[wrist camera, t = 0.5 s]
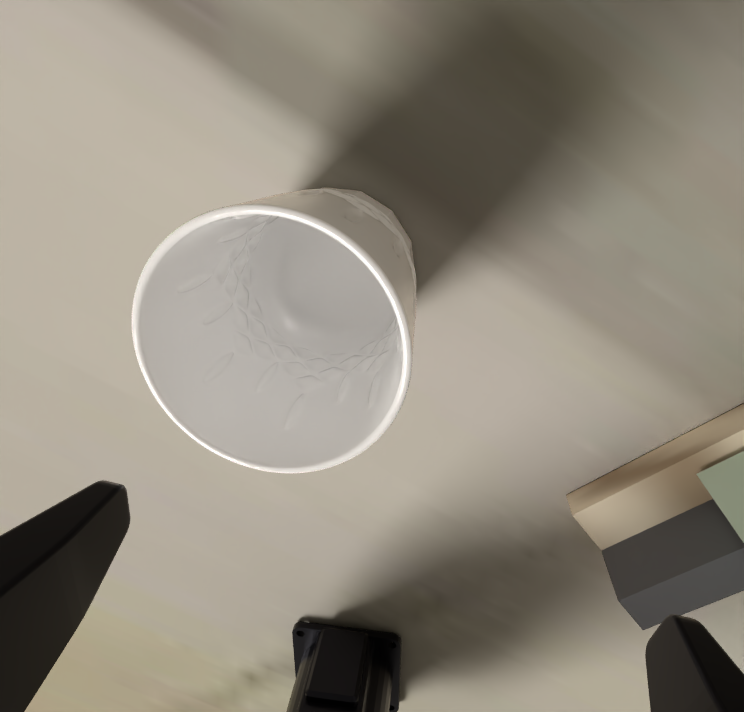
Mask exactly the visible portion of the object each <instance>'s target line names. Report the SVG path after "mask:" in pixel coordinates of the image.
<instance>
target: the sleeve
mask: <svg viewBox="0 0 744 712" xmlns="http://www.w3.org/2000/svg"><path fill="white" fill-rule="evenodd" d="M697 476H698V477H699V479H700V480H701V482H702V483H703V485H704V486H705V488H706V489H707V490H708V492H709V493H710V495H711V496H712V498H713V499H714V501H715V502H716V504H717V505H718V506H719V508H720V509H721V511H722V512H723V514H724V515H725V517H726V518H727V519H728V521H729V522H730V524H731V525H732V527H733V528H734V530H735V531H736V533H737V534H738V535H739V537H740V538H741V540H742V541H743V543H744V451H743V452H740V453H738V454H736V455H734V456H732V457H730V458H728V459H726V460H724V461H722V462H720V463H718V464H716V465H714V466H712V467H710V468H708V469H705V470H703V471H701V472H699V473H697Z"/></svg>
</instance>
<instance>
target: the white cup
mask: <svg viewBox="0 0 744 712" xmlns="http://www.w3.org/2000/svg"><path fill="white" fill-rule="evenodd" d="M415 319H416V272H415V267H414V258H413V250H412V242H411V240H410V238H409V237H408V235H407V233H406V232H405V230H404V229H403V227H402V226H401V224H400V222H399V221H398V219H397V218H396V216H395V214H394V213H393V211H392V210H390V209H389V208H387V207H386V206H384V205H382V204H381V203H379V202H378V201H376V200H375V199H373V198H371V197H370V196H368V195H367V194H365V193H363V192H362V191H357V190H348V189H338V188H328V187H323V188H320V189H308V190H300V191H295V192H288V193H282V194H277V195H273V196H269V197H265V198H261V199H256V200H252V201H248V202H244V203H240V204H236V205H231V206H227V207H222V208H218V209H215V210H212V211H209V212H206V213H204V214H201V215H199V216H197V217H195V218H193V219H191V220H189V221H187V222H186V223H184V224H183V225H181V226H180V227H178V228H177V229H176V230H174V231H173V232H172V233H171V234H170V235H168V236H167V237H166V238H165V239H164V240H163V241H162V242H161V244H160V245H159V246H158V247H157V248H156V250H155V251H154V252H153V254H152V255H151V257H150V258H149V260H148V261H147V263H146V265H145V267H144V269H143V271H142V273H141V275H140V278H139V281H138V283H137V287H136V290H135V295H134V300H133V306H132V336H133V343H134V348H135V353H136V356H137V360H138V363H139V366H140V369H141V371H142V374H143V376H144V378H145V381H146V383H147V385H148V386H149V388H150V390H151V392H152V394H153V395H154V397H155V398H156V400H157V401H158V403H159V404H160V406H161V407H162V408H163V410H164V411H165V412H166V413H167V415H168V416H169V417H170V418H171V419H172V420H173V421H174V422H175V423H176V424H177V425H178V426H179V427H180V428H181V429H182V430H183V431H184V432H185V433H186V434H187V435H189V436H190V437H191V438H192V439H194V440H195V441H196V442H198V443H199V444H200V445H202V446H203V447H205V448H207V449H208V450H210V451H212V452H213V453H215V454H217V455H219V456H221V457H223V458H225V459H227V460H229V461H232V462H234V463H237V464H240V465H243V466H246V467H249V468H253V469H257V470H262V471H268V472H275V473H306V472H313V471H318V470H323V469H327V468H330V467H333V466H336V465H339V464H341V463H344V462H346V461H348V460H350V459H352V458H354V457H355V456H357V455H359V454H360V453H362V452H363V451H365V450H366V449H367V448H369V447H370V446H371V445H372V444H374V443H375V442H376V441H377V440H378V439H379V438H380V437H381V436H382V435H383V434H384V433H385V431H386V430H387V429H388V428H389V426H390V425H391V424H392V422H393V421H394V419H395V417H396V416H397V414H398V412H399V410H400V408H401V406H402V404H403V402H404V399H405V396H406V393H407V390H408V387H409V382H410V377H411V370H412V357H413V342H414V330H415Z"/></svg>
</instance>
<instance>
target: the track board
mask: <svg viewBox="0 0 744 712" xmlns="http://www.w3.org/2000/svg"><path fill="white" fill-rule="evenodd" d="M743 451H744V404H742V405H740V406H738V407H736V408H734V409H732V410H730V411H728V412H726V413H725V414H723V415H721V416H719V417H717V418H715V419H713V420H711V421H709V422H707V423H705V424H703V425H701V426H699V427H697V428H695V429H694V430H692V431H690V432H688V433H686V434H684V435H682V436H680V437H678V438H676V439H674V440H672V441H670V442H668V443H666V444H665V445H663V446H661V447H659V448H657V449H655V450H653V451H651V452H649V453H647V454H645V455H643V456H641V457H639V458H637V459H635V460H634V461H632V462H630V463H628V464H626V465H624V466H622V467H620V468H618V469H616V470H614V471H612V472H610V473H608V474H606V475H605V476H603V477H601V478H599V479H597V480H595V481H593V482H591V483H589V484H587V485H585V486H583V487H581V488H579V489H577V490H575V491H574V492H572V493H570V494H568V495H566V496H567V499H568V503H569V506H570V509H571V513H572V516H573V517H574V518H575V519H576V520H577V522H578V523H579V524H580V525H581V527H582V528H583V529H584V530H585V531H586V533H587V534H588V535H589V536H590V537H591V539H592V540H593V541H594V542H595V544H596V545H597V546H598V547H599V548H600V550H604V549H606V548H608V547H610V546H612V545H614V544H616V543H619V542H621V541H623V540H625V539H627V538H629V537H632V536H634V535H636V534H638V533H640V532H642V531H644V530H647V529H649V528H651V527H653V526H655V525H657V524H660V523H662V522H664V521H666V520H668V519H670V518H672V517H675V516H677V515H679V514H681V513H683V512H685V511H688V510H690V509H692V508H694V507H696V506H698V505H700V504H703V503H705V502H707V501H709V500H711V499H713V498H712V496H711V495H710V493H709V492H708V490H707V489H706V488H705V486H704V485H703V483H702V482H701V480H700V479H699V477H698V476H697V473H699V472H701V471H703V470H705V469H708V468H710V467H712V466H714V465H716V464H718V463H720V462H722V461H724V460H726V459H728V458H730V457H732V456H734V455H736V454H738V453H740V452H743Z"/></svg>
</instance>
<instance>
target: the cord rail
mask: <svg viewBox="0 0 744 712" xmlns="http://www.w3.org/2000/svg"><path fill="white" fill-rule="evenodd" d="M601 551H602V554H603V557H604V560H605V563H606V566H607V569H608V572H609V575H610V578H611V581H612V584H613V587H614V589H615V592H616V595H617V598H618V601H619V602H620V603H621V605H622V606H623V607H624V608H625V609H626V611H627V612H628V613H629V614H630V615H631V617H632V618H633V619H634V620H635V621H636V622H637V624H638V625H639V626H640V627H641V628H642V630H645V629H647V628H650V627H652V626H655V625H657V624H660V623H662V622H663V620H664V619H665V618H666V617H667V616H668V615H671V614H675V615H679V616H680V615H683V614H685V613H688V612H690V611H693V610H695V609H698V608H700V607H703V606H705V605H708V604H711V603H713V602H716V601H718V600H721V599H723V598H726V597H728V596H731V595H733V594H736V593H738V592H741V591H743V590H744V543H743V541H742V540H741V538H740V537H739V535H738V534H737V533H736V531H735V530H734V528H733V527H732V525H731V524H730V522H729V521H728V519H727V518H726V517H725V515H724V514H723V512H722V511H721V509H720V508H719V506H718V505H717V504H716V502H715V501H714V499H711V500H709V501H707V502H705V503H703V504H700V505H698V506H696V507H694V508H692V509H690V510H688V511H685V512H683V513H681V514H679V515H677V516H675V517H672V518H670V519H668V520H666V521H664V522H662V523H660V524H657V525H655V526H653V527H651V528H649V529H647V530H644V531H642V532H640V533H638V534H636V535H634V536H632V537H629V538H627V539H625V540H623V541H621V542H619V543H616V544H614V545H612V546H610V547H608V548H606V549H604V550H601Z"/></svg>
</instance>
